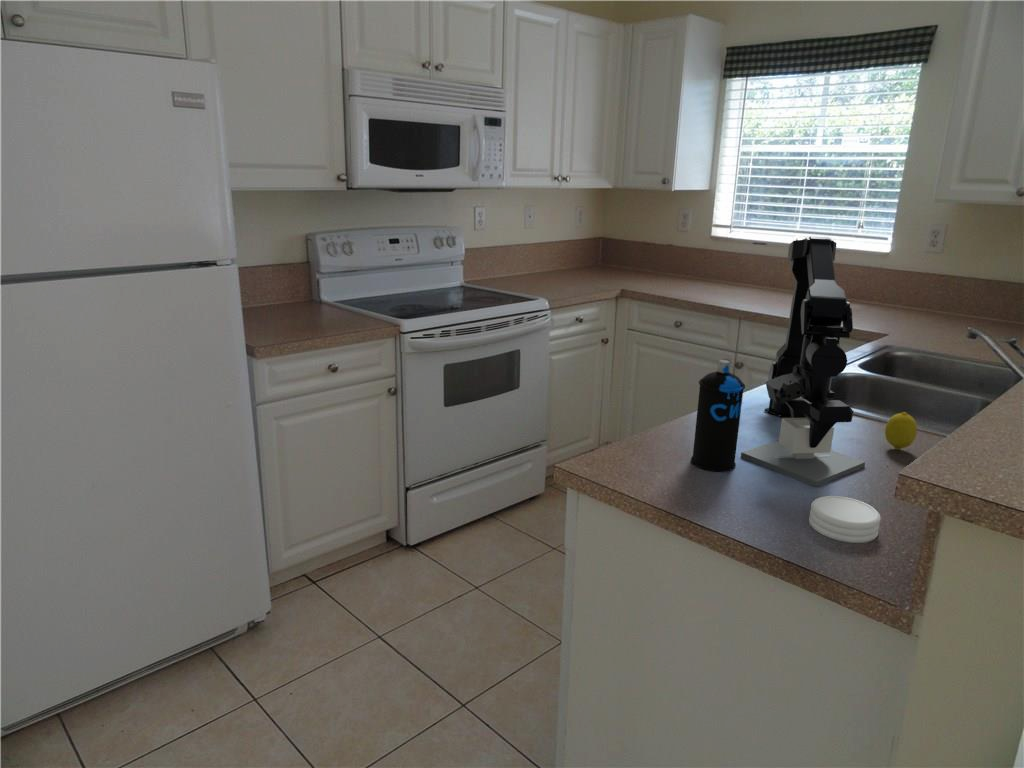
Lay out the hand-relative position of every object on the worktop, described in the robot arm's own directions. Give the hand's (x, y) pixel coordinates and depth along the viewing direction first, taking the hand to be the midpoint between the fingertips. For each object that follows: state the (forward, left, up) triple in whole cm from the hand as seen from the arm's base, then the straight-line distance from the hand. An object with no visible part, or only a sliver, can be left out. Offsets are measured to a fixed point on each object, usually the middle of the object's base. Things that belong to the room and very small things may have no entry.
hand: (805, 441), depth 138 cm
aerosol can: (-9, -15, -4) cm, 18 cm away
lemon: (+7, +22, -4) cm, 23 cm away
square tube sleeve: (0, 0, -1) cm, 1 cm away
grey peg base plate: (0, 0, -4) cm, 4 cm away
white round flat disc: (+19, -18, -5) cm, 27 cm away
